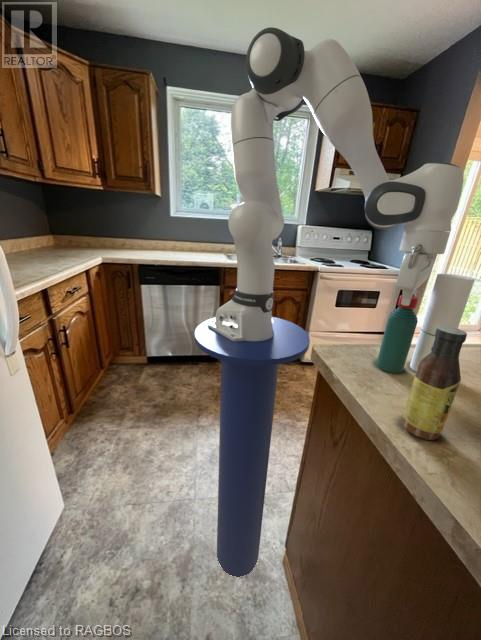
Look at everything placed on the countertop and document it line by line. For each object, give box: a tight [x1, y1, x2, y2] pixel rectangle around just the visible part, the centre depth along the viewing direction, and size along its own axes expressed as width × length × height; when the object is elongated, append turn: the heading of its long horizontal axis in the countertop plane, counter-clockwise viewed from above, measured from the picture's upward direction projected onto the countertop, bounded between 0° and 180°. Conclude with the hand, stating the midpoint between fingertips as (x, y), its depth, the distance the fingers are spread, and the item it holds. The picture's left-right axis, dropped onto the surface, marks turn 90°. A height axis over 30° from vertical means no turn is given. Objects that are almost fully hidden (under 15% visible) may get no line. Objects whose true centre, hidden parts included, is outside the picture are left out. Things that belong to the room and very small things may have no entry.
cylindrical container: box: [409, 273, 476, 373], centre depth 68 cm, size 7×7×25 cm
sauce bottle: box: [402, 326, 468, 441], centre depth 47 cm, size 6×6×20 cm
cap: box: [397, 294, 419, 310], centre depth 66 cm, size 4×4×2 cm
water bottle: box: [375, 306, 419, 374], centre depth 69 cm, size 6×6×19 cm
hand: (407, 302), depth 66 cm, fingers closed on cap, 4 cm apart
